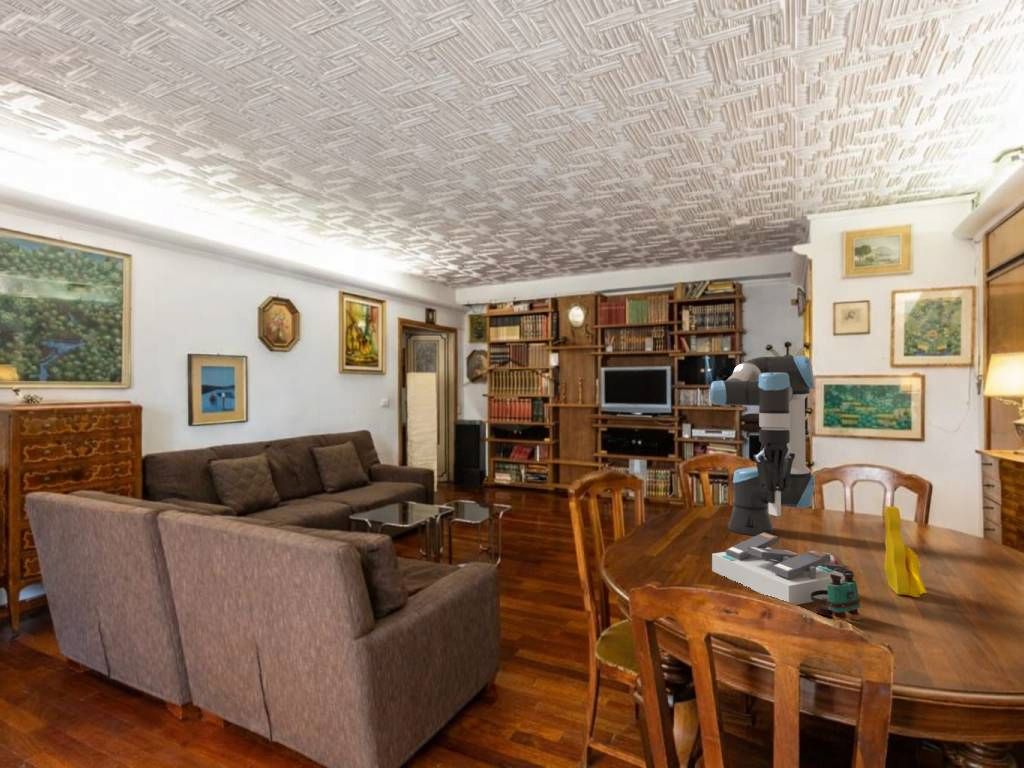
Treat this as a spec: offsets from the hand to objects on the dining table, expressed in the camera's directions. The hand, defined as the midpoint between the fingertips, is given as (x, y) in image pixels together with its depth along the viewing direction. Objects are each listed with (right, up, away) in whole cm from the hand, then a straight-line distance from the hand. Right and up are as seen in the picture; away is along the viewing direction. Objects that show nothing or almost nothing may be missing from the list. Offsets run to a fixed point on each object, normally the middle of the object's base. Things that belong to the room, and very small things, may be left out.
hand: (774, 514), depth 140 cm
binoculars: (+3, -19, -20) cm, 28 cm away
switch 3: (+3, -11, -8) cm, 13 cm away
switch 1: (-3, -11, +7) cm, 13 cm away
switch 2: (0, -11, 0) cm, 11 cm away
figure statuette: (+29, -19, -7) cm, 36 cm away
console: (0, -18, 0) cm, 18 cm away
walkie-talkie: (+19, -19, +8) cm, 28 cm away
